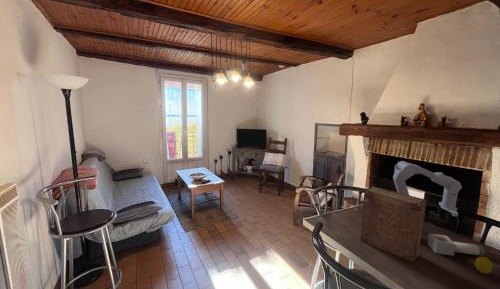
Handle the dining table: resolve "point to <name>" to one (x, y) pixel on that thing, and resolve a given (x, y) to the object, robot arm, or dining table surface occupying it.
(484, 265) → the lemon
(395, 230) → the book
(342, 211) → the dining table surface
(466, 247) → the block
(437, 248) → the housing
